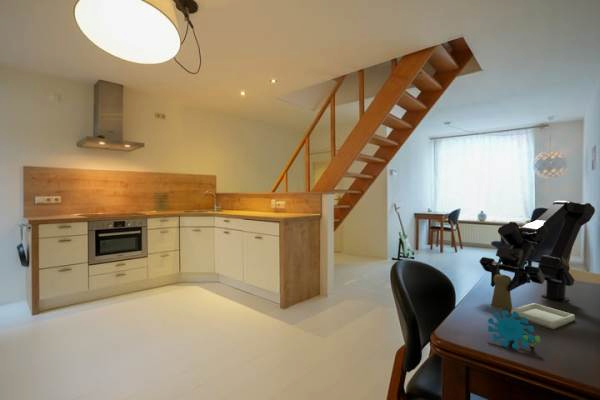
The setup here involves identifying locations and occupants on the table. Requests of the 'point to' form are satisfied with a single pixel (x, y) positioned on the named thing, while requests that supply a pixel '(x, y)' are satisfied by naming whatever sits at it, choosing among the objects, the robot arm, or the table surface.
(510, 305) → the cork
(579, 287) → the table surface
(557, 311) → the tray
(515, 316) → the gear
